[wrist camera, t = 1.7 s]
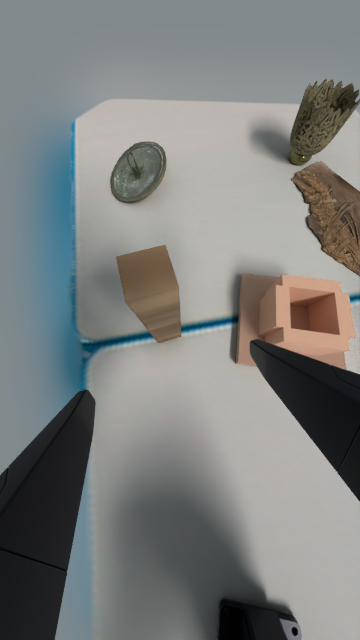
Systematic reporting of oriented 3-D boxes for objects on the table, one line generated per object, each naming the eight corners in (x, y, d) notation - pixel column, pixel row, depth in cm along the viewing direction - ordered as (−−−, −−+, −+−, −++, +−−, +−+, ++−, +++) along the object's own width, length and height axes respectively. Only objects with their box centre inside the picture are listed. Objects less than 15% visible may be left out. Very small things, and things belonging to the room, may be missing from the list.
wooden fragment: (285, 166, 31) (288, 159, 30) (344, 163, 31) (350, 156, 30) (328, 294, 24) (335, 290, 23) (408, 289, 24) (418, 286, 23)
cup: (276, 145, 33) (305, 76, 25) (316, 148, 32) (358, 78, 25) (277, 172, 31) (309, 105, 23) (320, 176, 30) (367, 108, 22)
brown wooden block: (181, 336, 22) (178, 287, 9) (158, 343, 22) (125, 301, 9) (174, 315, 23) (165, 244, 10) (152, 321, 23) (116, 256, 10)
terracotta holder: (339, 380, 20) (388, 382, 15) (235, 363, 21) (251, 360, 16) (329, 288, 24) (366, 266, 19) (240, 277, 24) (254, 253, 20)
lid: (180, 192, 30) (179, 157, 25) (128, 216, 28) (117, 184, 23) (150, 158, 32) (144, 121, 28) (102, 178, 31) (87, 143, 26)
